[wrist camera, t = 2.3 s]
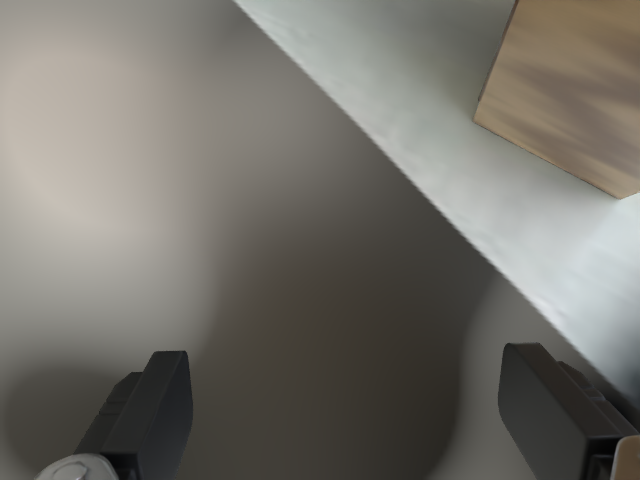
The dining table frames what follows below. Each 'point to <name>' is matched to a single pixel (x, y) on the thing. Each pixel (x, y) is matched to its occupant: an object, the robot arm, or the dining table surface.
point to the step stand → (570, 88)
